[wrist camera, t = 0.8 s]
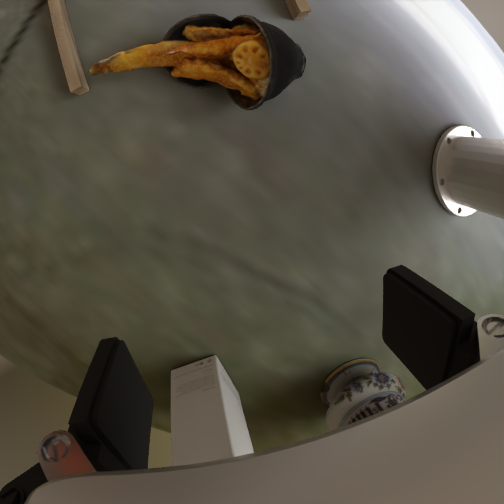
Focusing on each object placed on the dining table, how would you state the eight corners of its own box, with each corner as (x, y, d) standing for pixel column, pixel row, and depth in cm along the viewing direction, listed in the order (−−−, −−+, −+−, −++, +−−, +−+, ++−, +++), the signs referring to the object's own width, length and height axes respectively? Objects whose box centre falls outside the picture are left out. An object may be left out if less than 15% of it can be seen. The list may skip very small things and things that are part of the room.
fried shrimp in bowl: (324, 113, 25) (110, 158, 18) (258, 91, 32) (97, 124, 25) (330, 15, 19) (90, 22, 12) (258, 16, 26) (85, 35, 19)
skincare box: (170, 368, 36) (166, 472, 21) (219, 351, 36) (236, 456, 21) (198, 409, 38) (207, 504, 24) (243, 395, 39) (266, 490, 24)
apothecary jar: (320, 358, 39) (381, 461, 22) (393, 345, 41) (465, 424, 24) (307, 417, 43) (348, 510, 26) (374, 402, 45) (425, 479, 28)
